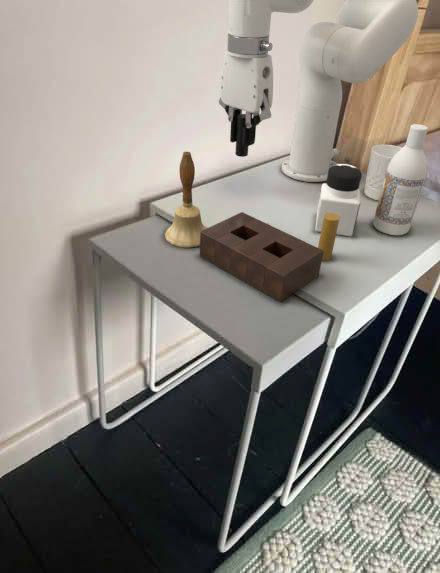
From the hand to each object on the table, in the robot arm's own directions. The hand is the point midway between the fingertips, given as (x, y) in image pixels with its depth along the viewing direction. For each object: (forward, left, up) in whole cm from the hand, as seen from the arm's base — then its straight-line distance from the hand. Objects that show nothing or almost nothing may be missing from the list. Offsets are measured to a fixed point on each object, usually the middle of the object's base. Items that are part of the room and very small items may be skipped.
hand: (242, 142), depth 102 cm
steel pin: (0, 0, -3) cm, 3 cm away
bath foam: (-10, +31, -11) cm, 34 cm away
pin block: (+20, +22, -11) cm, 31 cm away
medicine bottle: (-2, +23, -11) cm, 25 cm away
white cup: (-22, +22, -11) cm, 33 cm away
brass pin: (+9, +28, -11) cm, 31 cm away
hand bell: (+22, +7, -11) cm, 25 cm away
